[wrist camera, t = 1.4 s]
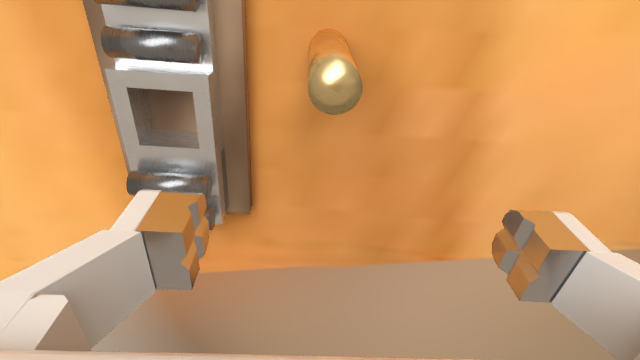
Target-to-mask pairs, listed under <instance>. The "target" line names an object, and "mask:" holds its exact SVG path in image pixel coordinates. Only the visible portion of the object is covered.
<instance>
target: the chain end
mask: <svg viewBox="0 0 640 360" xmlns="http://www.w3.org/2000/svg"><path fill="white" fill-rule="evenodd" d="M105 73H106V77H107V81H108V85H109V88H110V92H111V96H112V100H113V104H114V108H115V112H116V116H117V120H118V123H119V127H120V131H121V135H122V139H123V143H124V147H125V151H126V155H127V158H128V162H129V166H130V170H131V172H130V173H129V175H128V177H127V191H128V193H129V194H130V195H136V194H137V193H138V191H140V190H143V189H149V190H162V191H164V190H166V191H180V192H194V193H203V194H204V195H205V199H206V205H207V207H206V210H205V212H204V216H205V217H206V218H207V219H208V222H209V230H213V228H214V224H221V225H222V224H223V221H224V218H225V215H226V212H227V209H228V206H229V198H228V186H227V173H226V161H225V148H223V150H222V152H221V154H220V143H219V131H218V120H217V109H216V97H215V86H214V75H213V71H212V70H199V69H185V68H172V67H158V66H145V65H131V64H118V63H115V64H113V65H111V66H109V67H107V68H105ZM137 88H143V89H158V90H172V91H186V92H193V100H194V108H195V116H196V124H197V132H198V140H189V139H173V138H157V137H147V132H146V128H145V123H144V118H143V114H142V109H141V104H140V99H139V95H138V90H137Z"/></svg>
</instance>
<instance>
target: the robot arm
mask: <svg viewBox="0 0 640 360" xmlns="http://www.w3.org/2000/svg"><path fill="white" fill-rule="evenodd" d="M206 207H207V205H206V199H205V195H204V194H203V193H194V192H180V191H166V190H164V191H162V190H149V189H143V190H140V191H138V193H137V194H136V195H135V197H134V198H133V199H132V201H131V202H130V203H129V205H128V206H127V207H126V209H125V210H124V211H123V213H122V214H121V215H120V217H119V218H118V219H117V221H116V222H115V223H114V225H113V226H112V227H111V229H110V230H102V231H100V232H98V233H96V234H94V235H92V236H90V237H88V238H86V239H84V240H82V241H80V242H78V243H76V244H74V245H72V246H70V247H68V248H66V249H64V250H62V251H60V252H58V253H56V254H54V255H52V256H50V257H48V258H46V259H44V260H42V261H40V262H38V263H36V264H34V265H32V266H30V267H28V268H26V269H24V270H22V271H20V272H18V273H16V274H14V275H12V276H10V277H8V278H6V279H4V280H2V281H0V360H482V359H440V358H438V359H437V358H391V357H346V356H299V355H251V354H250V355H249V354H202V353H155V352H108V351H91V348H92V347H94V346H95V345H96V344H97V343H98V342H99V341H100V340H102V339H103V338H104V337H105V336H106V335H107V334H108V333H109V332H111V331H112V330H113V329H114V328H115V327H116V326H117V325H118V324H120V323H121V322H122V321H123V320H124V319H125V318H126V317H127V316H129V315H130V314H131V313H132V312H133V311H134V310H135V309H136V308H137V307H139V306H140V305H141V304H142V303H143V302H144V301H146V300H147V299H148V298H149V297H150V296H151V295H152V294H153V293H155V291H156V289H177V290H180V289H182V290H192V289H193V286H194V283H195V280H196V277H197V275H198V272H199V269H200V267H199V259H200V258H202V257H203V256H204V255H205V252H206V249H207V245H208V239H209V222H208V219H207V218H206V217H205V216H204V212H205V210H206ZM502 223H503V226H504V229H502V230H501V231H500V232H498V233H497V234H496V235H495V238H494V240H493V243H492V254H493V258H494V261H495V262H496V264H497V266H498V267H499V268H500V269H501V270H503V271H504V272H506V273H507V274H508V276H507V282H508V284H509V285H510V287H511V288H512V290H513V291H514V293H515V295H516V296H517V298H518V300H519V301H533V302H549V303H551V305H552V306H553V307H555V308H556V309H557V310H558V311H560V312H561V313H562V314H563V315H564V316H566V317H567V318H568V319H569V320H570V321H572V322H573V323H574V324H575V325H577V326H578V327H579V328H580V329H581V330H582V331H584V332H585V333H586V334H587V335H588V336H590V337H591V338H592V339H593V340H595V341H596V342H597V343H598V344H599V345H601V346H602V347H603V348H604V349H605V350H607V351H608V352H609V353H610V354H611V355H613V356H614V357H615V358H616V359H618V360H640V264H638V263H637V262H635V261H633V260H630V259H628V258H627V257H624V256H623V255H621V254H619V253H612V252H611V251H610V250H609V249H608V248H607V247H606V246H605V245H604V244H602V243H601V242H600V241H599V240H598V239H597V238H596V237H595V236H594V235H593V234H592V233H591V232H590V231H589V230H588V229H587V228H586V227H585V226H584V225H583V224H581V223H580V222H579V221H578V220H577V219H576V218H575V217H574V216H573V215H572V214H570V213H568V212H565V211H524V210H510V211H509V212H508V213H507V214H506V215H505V217H504V219H503V221H502ZM483 360H486V359H483Z"/></svg>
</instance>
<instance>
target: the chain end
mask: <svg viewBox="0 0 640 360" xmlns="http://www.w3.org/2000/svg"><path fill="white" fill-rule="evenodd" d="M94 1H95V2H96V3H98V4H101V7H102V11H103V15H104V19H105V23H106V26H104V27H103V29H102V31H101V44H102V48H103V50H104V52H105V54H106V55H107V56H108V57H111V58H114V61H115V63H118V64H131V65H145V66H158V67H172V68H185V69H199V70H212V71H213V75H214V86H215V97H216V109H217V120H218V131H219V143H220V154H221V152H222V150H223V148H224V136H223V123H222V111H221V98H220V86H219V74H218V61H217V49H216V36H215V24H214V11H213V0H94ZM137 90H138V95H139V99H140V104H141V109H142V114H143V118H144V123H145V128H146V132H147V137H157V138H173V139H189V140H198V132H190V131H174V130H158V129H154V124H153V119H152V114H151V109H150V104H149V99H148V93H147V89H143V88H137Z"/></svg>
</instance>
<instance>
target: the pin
mask: <svg viewBox="0 0 640 360" xmlns="http://www.w3.org/2000/svg"><path fill="white" fill-rule="evenodd" d="M308 91H309V96H310V99H311V101H312V103H313V104H314V106H315V107H316V108H317V109H319V110H320V111H322V112H324V113H327V114H332V115H337V114H342V113H345V112H347V111H349V110H351V109H352V108H353V107H354V106H355V105H356V104H357V102H358V101H359V99H360V97H361V94H362V81H361V78H360V75H359V73H358V70H357V68H356V65H355V63H354V61H353V58H352V56H351V53H350V51H349V48H348V46H347V43H346V41H345V39H344V37H343V36H342V35H341V34H340V33H339V32H337V31H335V30H332V29H325V30H322V31H320V32H318V33H317V34H316V35H315V36H314V37H313V38H312V40H311V43H310V49H309V85H308Z"/></svg>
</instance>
